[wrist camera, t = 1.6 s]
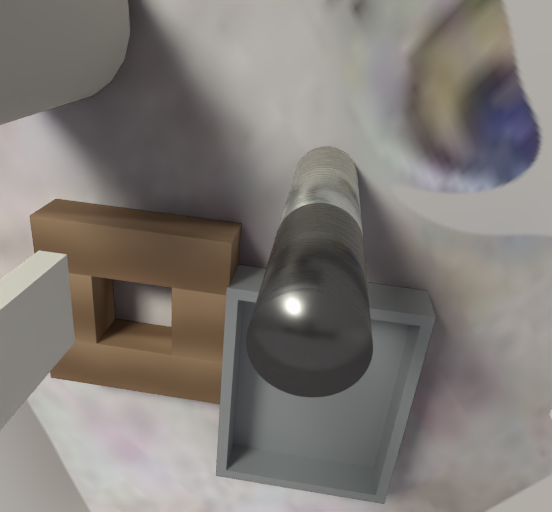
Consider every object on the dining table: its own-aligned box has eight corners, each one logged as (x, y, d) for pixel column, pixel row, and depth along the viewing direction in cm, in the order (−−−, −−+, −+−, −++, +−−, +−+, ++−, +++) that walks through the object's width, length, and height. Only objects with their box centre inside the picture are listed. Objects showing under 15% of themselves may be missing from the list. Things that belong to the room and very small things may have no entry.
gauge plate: (56, 198, 27) (29, 215, 24) (241, 223, 26) (231, 243, 24) (72, 351, 31) (51, 377, 29) (230, 375, 30) (222, 404, 28)
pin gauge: (298, 143, 24) (250, 283, 11) (362, 150, 24) (384, 302, 11) (292, 202, 25) (242, 387, 13) (351, 210, 25) (361, 406, 12)
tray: (236, 264, 27) (226, 287, 25) (427, 291, 26) (435, 317, 24) (224, 443, 33) (215, 475, 30) (381, 468, 32) (384, 503, 30)
